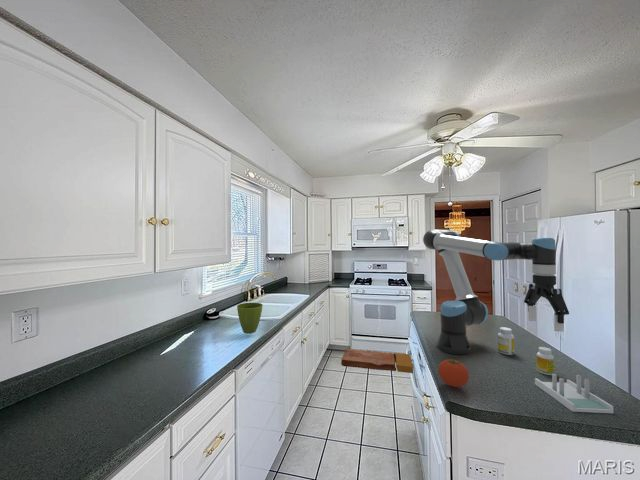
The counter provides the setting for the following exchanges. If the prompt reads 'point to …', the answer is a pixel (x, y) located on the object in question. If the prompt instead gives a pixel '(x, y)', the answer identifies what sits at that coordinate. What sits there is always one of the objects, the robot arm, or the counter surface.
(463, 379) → the tomato
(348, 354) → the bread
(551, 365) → the supplement bottle
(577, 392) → the tray
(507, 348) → the pill bottle
